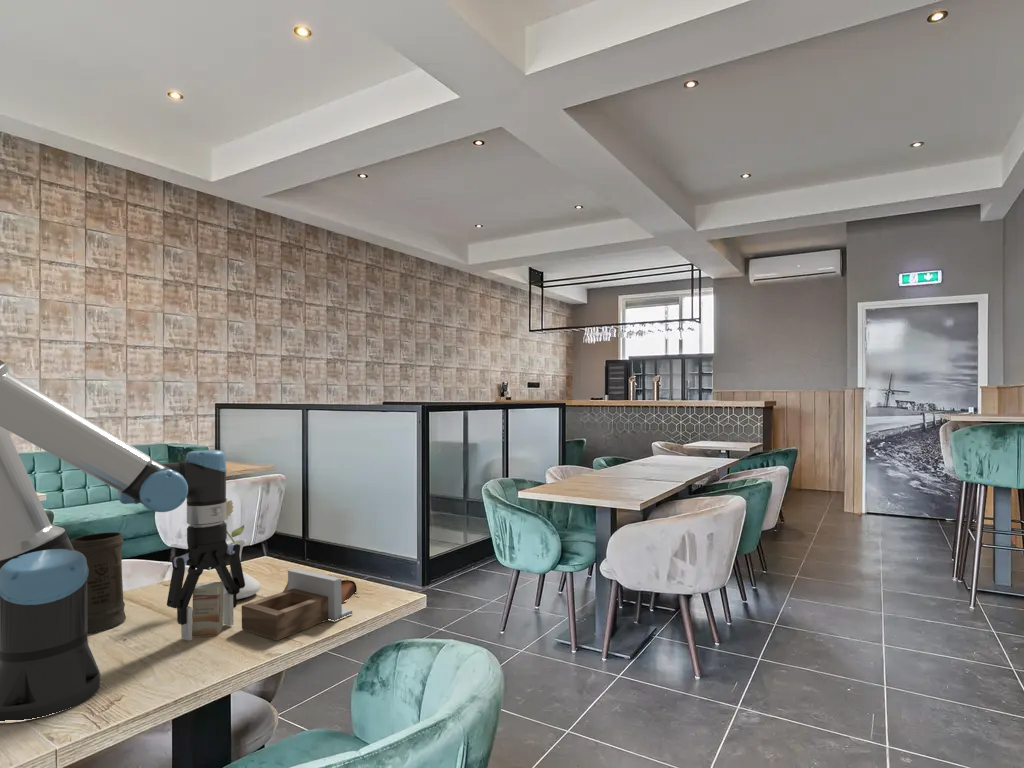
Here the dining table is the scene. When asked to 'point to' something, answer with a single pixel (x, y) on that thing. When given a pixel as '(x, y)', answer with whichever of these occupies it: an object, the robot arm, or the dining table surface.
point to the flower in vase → (250, 583)
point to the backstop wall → (320, 589)
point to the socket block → (284, 613)
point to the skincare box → (207, 609)
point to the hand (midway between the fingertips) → (208, 631)
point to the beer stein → (103, 579)
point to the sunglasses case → (343, 589)
